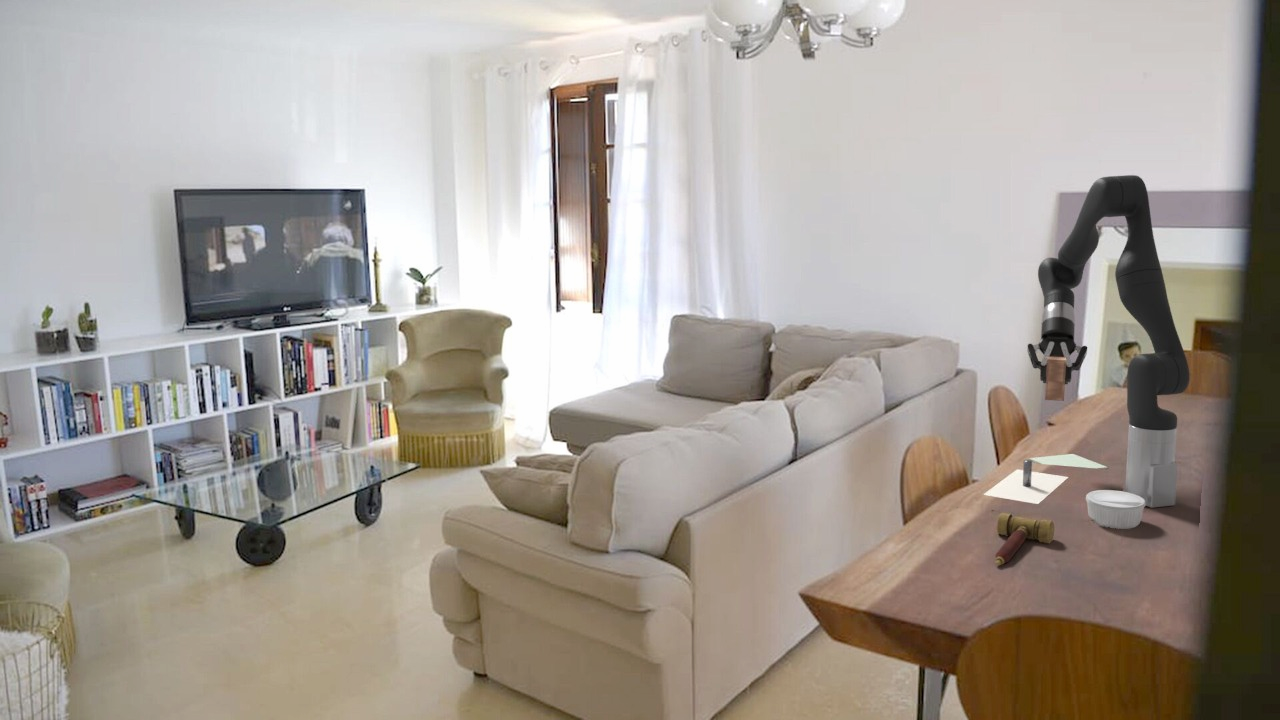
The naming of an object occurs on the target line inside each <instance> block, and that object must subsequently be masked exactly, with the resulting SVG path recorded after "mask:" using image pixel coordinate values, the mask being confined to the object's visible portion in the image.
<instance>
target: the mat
mask: <svg viewBox="0 0 1280 720" xmlns="http://www.w3.org/2000/svg"><path fill="white" fill-rule="evenodd" d="M1028 460H1031V461H1032V463H1035V462H1036V463H1035V464H1038V463H1039V464H1038V465H1048V466H1049V465H1050V466H1064V467H1073V468H1075V467H1076V468H1087V469H1088V468H1089V469H1100V470H1106V469H1107V468H1109V467H1108V466H1106V465H1103V464H1101V463H1098V462H1095V461H1093V460H1091V459H1087V458H1085V457H1082V456H1080V455H1077V454H1074V453H1068V454H1067V453H1066V454H1059V455H1047V456H1046V455H1045V456H1040V457H1039V456H1037V457H1029V458H1028ZM1107 470H1108V469H1107Z"/></svg>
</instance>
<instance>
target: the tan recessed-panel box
mask: <svg viewBox="0 0 1280 720" xmlns="http://www.w3.org/2000/svg"><path fill="white" fill-rule="evenodd" d="M1065 373H1066V358H1064V357H1055V356H1050V357H1047V369H1046V383H1045V391H1044V400H1045V401H1057V402H1058V401H1059V402H1064V401H1065V388H1066V384H1065Z"/></svg>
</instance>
